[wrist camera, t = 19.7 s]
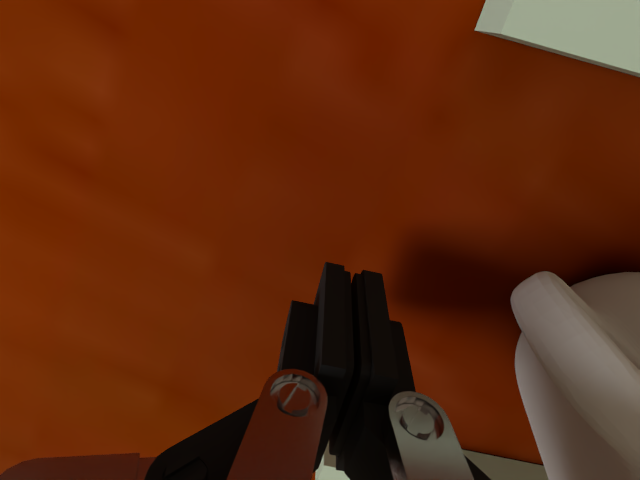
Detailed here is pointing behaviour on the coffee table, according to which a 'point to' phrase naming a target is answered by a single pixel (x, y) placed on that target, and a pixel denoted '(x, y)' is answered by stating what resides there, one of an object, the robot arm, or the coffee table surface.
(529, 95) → the coffee table surface
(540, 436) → the cup
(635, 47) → the mint green u-frame
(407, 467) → the robot arm
